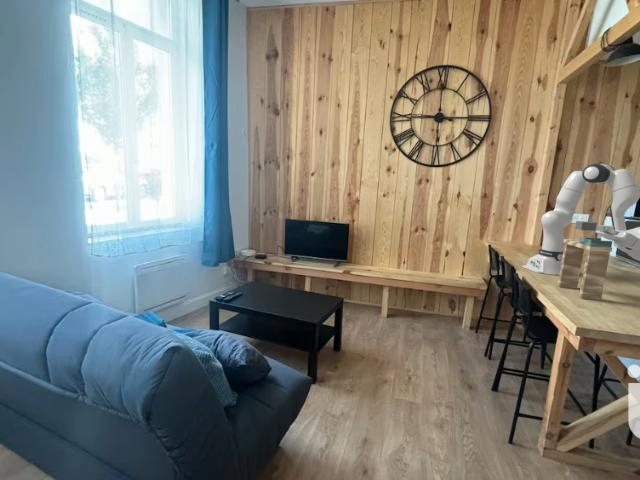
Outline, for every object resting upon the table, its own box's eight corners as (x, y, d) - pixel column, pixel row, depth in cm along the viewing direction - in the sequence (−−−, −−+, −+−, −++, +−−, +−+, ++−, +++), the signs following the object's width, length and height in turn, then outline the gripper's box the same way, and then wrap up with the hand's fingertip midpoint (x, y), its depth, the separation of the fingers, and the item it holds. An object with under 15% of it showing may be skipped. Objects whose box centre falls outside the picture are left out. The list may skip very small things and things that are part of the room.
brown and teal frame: (556, 286, 193) (565, 233, 187) (575, 287, 192) (584, 234, 187) (580, 298, 173) (591, 240, 167) (602, 300, 172) (613, 241, 167)
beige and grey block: (607, 230, 184) (608, 222, 183) (614, 231, 179) (615, 223, 178) (575, 228, 185) (576, 221, 184) (581, 230, 180) (582, 222, 179)
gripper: (613, 233, 191) (592, 219, 191) (645, 239, 171) (621, 224, 171) (605, 242, 193) (585, 229, 192) (636, 250, 173) (612, 235, 172)
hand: (602, 227), depth 181 cm, fingers closed on beige and grey block, 3 cm apart
